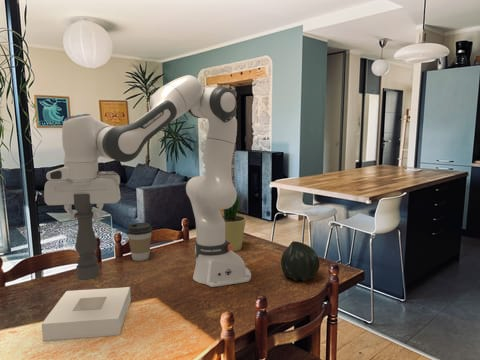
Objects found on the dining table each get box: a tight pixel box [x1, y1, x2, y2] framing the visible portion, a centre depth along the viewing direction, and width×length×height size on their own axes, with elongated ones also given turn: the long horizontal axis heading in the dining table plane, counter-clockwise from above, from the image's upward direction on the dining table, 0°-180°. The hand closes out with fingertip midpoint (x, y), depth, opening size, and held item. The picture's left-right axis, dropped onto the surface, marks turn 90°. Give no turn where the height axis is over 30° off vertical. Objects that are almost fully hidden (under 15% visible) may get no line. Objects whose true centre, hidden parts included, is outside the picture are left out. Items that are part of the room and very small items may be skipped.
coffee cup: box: [125, 222, 154, 262], centre depth 159 cm, size 11×11×15 cm
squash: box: [280, 240, 320, 282], centre depth 138 cm, size 14×15×15 cm
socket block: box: [41, 286, 131, 342], centre depth 108 cm, size 20×20×5 cm
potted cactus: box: [221, 189, 247, 252], centre depth 171 cm, size 15×15×30 cm
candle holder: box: [73, 194, 100, 281], centre depth 105 cm, size 6×6×25 cm
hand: (85, 218), depth 104 cm, fingers closed on candle holder, 5 cm apart
